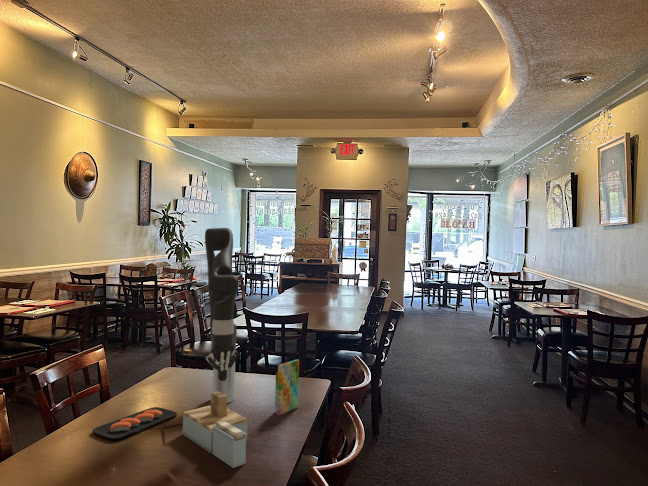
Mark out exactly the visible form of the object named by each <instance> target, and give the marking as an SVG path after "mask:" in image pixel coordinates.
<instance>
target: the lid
mask: <svg viewBox="0 0 648 486" xmlns="http://www.w3.org/2000/svg"><path fill="white" fill-rule="evenodd" d="M183 415H185V416H187V417H188V418H190V419H192V420H193V421H195V422H196V423H198V424H200V425H201V426H203V427H205V428H206V429H208V430H209V431H211V432H213V426H216V422H218V421H221V420H223V421H225V422H227V423H229V424H231V425H232V426H233V425H237V424H240V423H244V422H247V421H248V419H247V417H245V416H243V415H241V414H239V413H237V412H235V411H234V410H231V409H229V408H228V403H227V395H225V394H223V393H221V392H219V391H218V392H214V393H212V392H211V393H210V405H207V406H203V407H199V408H194V409H191V410H186V411H184V412H183Z"/></svg>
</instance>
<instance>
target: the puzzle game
mask: <svg viewBox="0 0 648 486" xmlns="http://www.w3.org/2000/svg"><path fill="white" fill-rule="evenodd" d="M274 395H275V396H274V397H275V398H274V399H275V402H274V403H275V404H274V406H275V407H274V409H275V413H276V415H277V416H281V415H284V414H286V413H288V412H290V411H292V410H295V409H297V408H299V406H300V404H299V402H300V401H299V400H300V399H299V397H300V359H294V360H291V361H287V362H284V363H281V364H278V366H277V372H276V373H275V394H274Z"/></svg>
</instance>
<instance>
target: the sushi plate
mask: <svg viewBox="0 0 648 486" xmlns="http://www.w3.org/2000/svg"><path fill="white" fill-rule="evenodd" d="M177 415H178V413H177V411H173V410H169V409H167V408H163V407H158V406H156V407H155V406H154V407H150V408H146V409H144V410H140V411H138V412H135V413H133V414H129V415H127V416H124V417H121V418H118V419H115V420H113V421H111V422H108V423H105V424H101V425H100V426H97V427H94V428H93V429H92V432H93V433H94V435H98V436H100V437H103V438H106V439H110V440H118V439H123V438H125V437H127V436H130V435H133V434H136V433H139V432H147V431H152V430H159V429H162V437H163V439H162V441H163V442H162V443H163V445H162V446H166V433H165V429H166V428H173V427H178V426H183V422H181V423H176V424H171V425H165V421H167V420H170V419H172V418H174V417H176V416H177ZM159 423H162V426H159V427H154V428H151V427H153V426H154V425H155V426H156V425H158V424H159ZM147 428H148V429H147Z"/></svg>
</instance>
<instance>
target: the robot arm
mask: <svg viewBox="0 0 648 486" xmlns="http://www.w3.org/2000/svg"><path fill="white" fill-rule="evenodd" d="M204 242H205V243H204V245H205V254H206V261H207V283H208V284H207V289H208V299H209V313H210V314H209V317H210V318H209V319H210V320H209V326H210V327H209V335H210V336H209V337H210V338H209V339H210V342H211V346H212V347H211V351H210V353H209V354H208V355H206V356H205V357H204V359H205V360H206V361H207V363H208V364H209V365H210V366H211V368H212V381H211V383H212V385H211V387H212V388H211V393H214V392H218V391H219V392H221V393H223V394H225V395H227V404H228V403H231V402H234V401H235V391H236V390H235V387H236V386H235V385H236V383H235V382H236V379H235V378H236V361H237V359H238V357H239V356H240V352H239V351H237V349H236V347H237V334H238V331H237V325H236V324H235V323H234V322H235V321H234V307H235V300H236V297H237V294H238V292H239V291H238V290H239V287H240V281H239V278H238V276H236V275H235V274H233V263H232V259H233V251H234V235H233V231H232V228H229V227H215V228H214V227H213V228H206V230H205V232H204ZM215 252H218V253H217V254H216V255H215Z"/></svg>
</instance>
